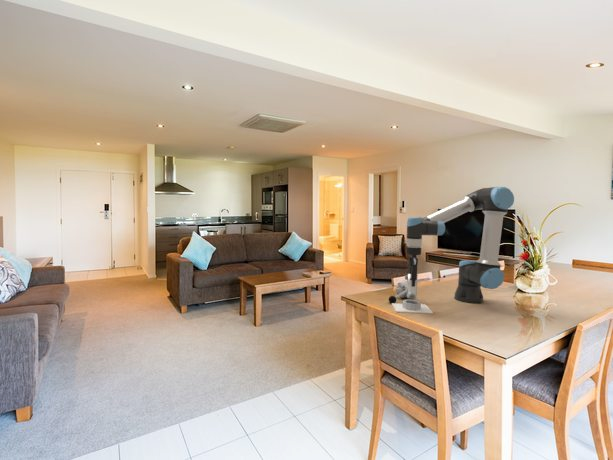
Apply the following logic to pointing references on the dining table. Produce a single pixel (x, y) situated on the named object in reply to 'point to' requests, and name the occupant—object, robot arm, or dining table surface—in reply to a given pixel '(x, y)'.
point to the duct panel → (411, 307)
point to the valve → (399, 292)
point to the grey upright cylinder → (409, 294)
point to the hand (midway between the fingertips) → (411, 290)
